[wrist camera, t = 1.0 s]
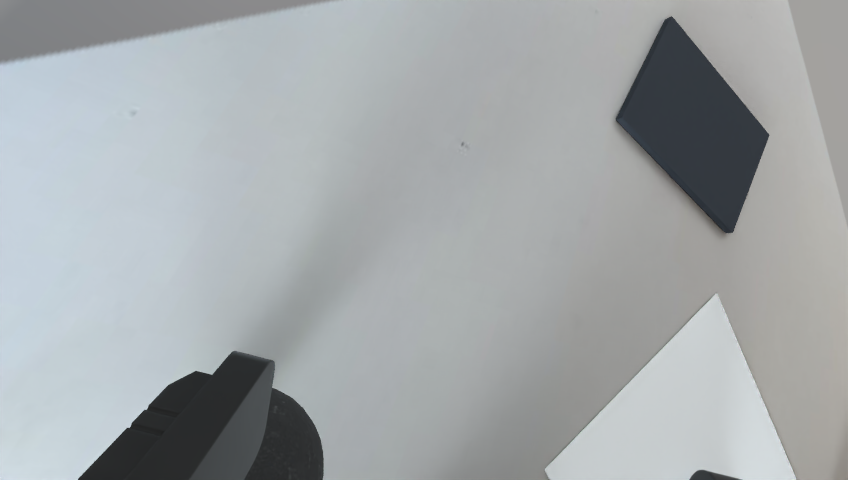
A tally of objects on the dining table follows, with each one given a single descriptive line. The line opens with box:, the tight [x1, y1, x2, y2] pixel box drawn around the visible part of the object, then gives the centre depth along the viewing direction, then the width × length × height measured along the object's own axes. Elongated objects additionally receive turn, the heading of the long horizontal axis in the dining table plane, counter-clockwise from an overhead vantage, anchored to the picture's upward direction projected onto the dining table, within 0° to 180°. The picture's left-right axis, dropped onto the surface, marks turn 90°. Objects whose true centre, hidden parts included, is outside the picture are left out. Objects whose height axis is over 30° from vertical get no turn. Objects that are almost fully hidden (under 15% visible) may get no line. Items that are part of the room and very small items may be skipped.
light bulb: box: [244, 388, 323, 480], centre depth 18 cm, size 6×6×10 cm
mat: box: [616, 16, 769, 233], centre depth 39 cm, size 14×10×1 cm
